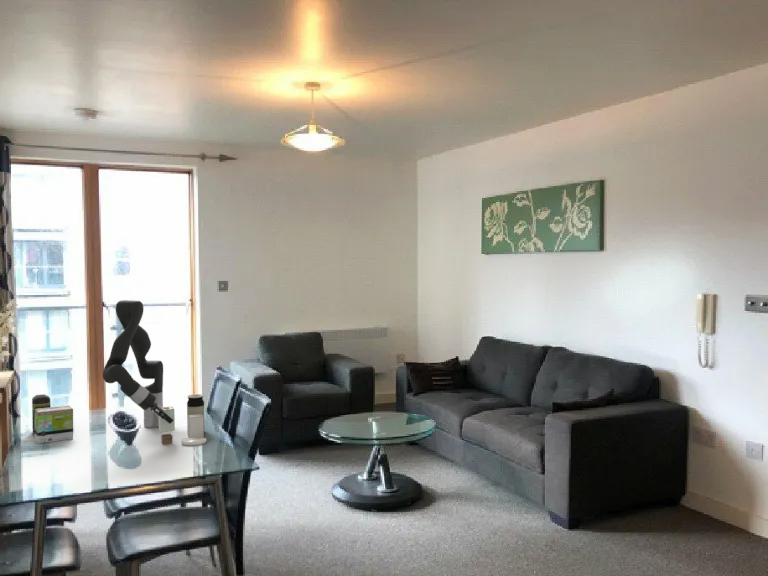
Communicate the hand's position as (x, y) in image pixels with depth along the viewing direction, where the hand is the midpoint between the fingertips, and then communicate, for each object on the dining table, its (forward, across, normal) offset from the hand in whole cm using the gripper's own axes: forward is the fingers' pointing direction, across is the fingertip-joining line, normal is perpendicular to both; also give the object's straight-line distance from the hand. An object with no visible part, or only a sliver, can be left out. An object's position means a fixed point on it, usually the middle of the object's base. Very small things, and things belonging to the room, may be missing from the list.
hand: (170, 420), depth 298 cm
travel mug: (+18, +14, -2) cm, 22 cm away
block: (+6, 0, +9) cm, 11 cm away
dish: (+14, -5, +1) cm, 15 cm away
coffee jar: (-29, +50, +45) cm, 73 cm away
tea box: (-25, +33, +41) cm, 59 cm away
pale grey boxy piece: (+2, 0, +4) cm, 5 cm away
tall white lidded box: (+16, +5, -1) cm, 17 cm away
